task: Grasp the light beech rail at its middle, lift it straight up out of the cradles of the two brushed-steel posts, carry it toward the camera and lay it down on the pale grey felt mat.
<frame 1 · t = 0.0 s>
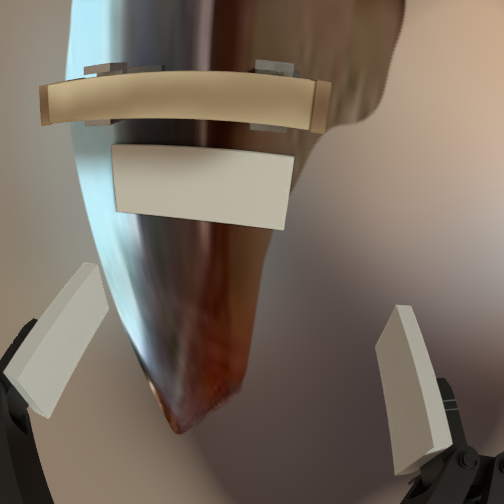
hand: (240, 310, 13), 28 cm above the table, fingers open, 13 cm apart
rail: (184, 89, 25), point 9 cm above the table, touching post, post
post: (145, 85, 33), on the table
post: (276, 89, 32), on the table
mat: (196, 183, 40), on the table
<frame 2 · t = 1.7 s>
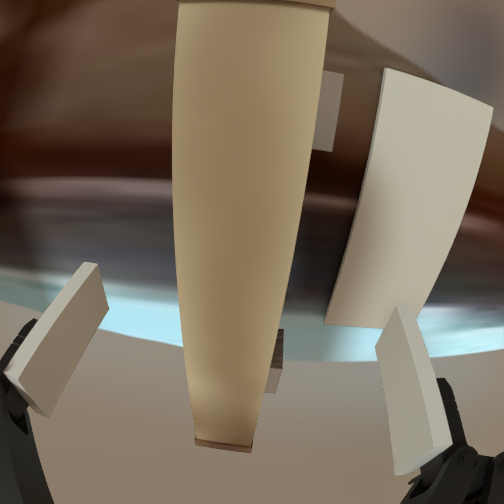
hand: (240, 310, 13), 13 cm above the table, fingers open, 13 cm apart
rail: (245, 252, 17), point 9 cm above the table, touching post, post
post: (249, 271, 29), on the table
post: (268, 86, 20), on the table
mat: (408, 223, 24), on the table
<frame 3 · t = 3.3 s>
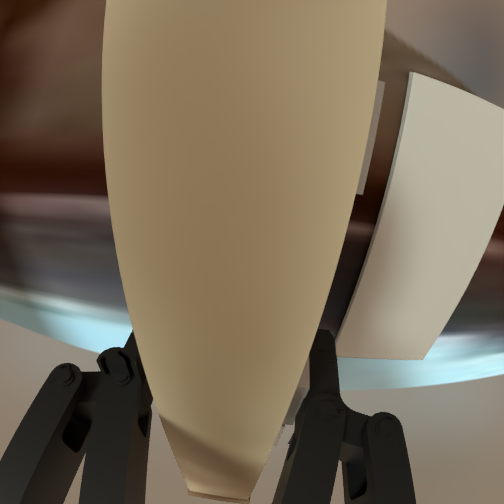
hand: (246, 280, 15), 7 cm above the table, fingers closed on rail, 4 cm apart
rail: (242, 304, 13), point 9 cm above the table, touching gripper, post, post
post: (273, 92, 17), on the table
mat: (429, 250, 21), on the table
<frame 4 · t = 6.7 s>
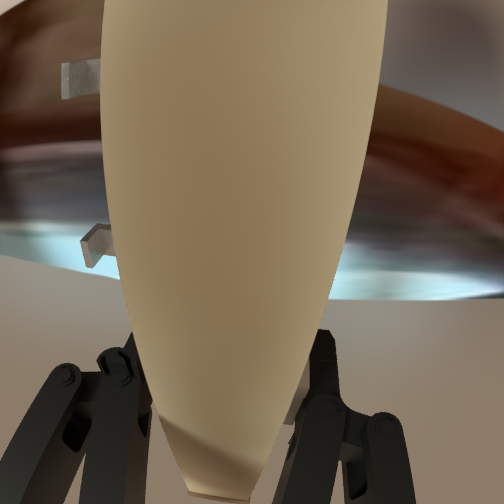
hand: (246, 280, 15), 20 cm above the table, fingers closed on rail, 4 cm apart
rail: (241, 305, 13), point 22 cm above the table, touching gripper
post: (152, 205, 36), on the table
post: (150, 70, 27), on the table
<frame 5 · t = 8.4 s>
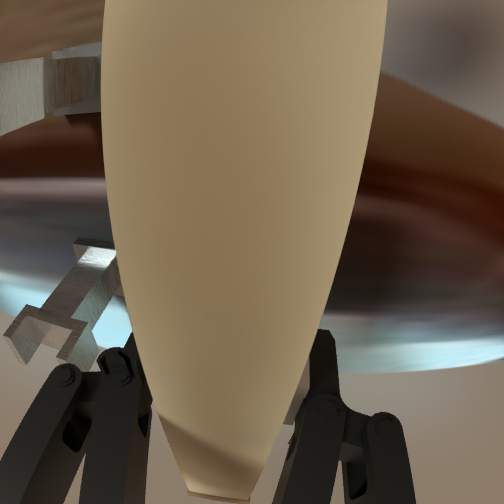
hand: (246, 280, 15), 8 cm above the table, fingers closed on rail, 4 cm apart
rail: (241, 305, 13), point 10 cm above the table, touching gripper
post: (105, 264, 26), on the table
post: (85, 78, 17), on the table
when the fingers open (1 cm above the table, at t = 10.0 s): rail drops 2 cm, resting on mat.
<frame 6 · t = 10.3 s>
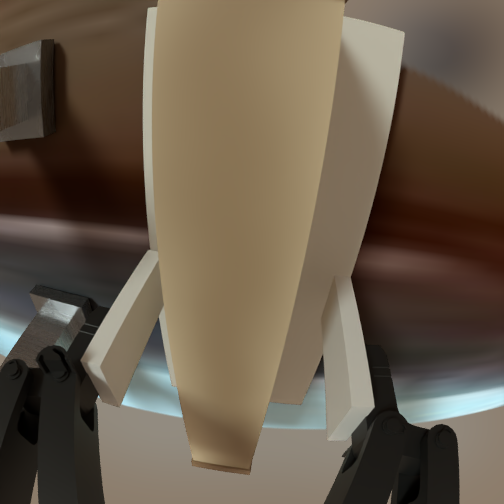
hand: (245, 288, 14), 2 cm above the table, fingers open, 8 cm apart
rail: (244, 272, 15), point 1 cm above the table, touching mat
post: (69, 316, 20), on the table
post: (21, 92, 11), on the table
mat: (249, 265, 16), on the table
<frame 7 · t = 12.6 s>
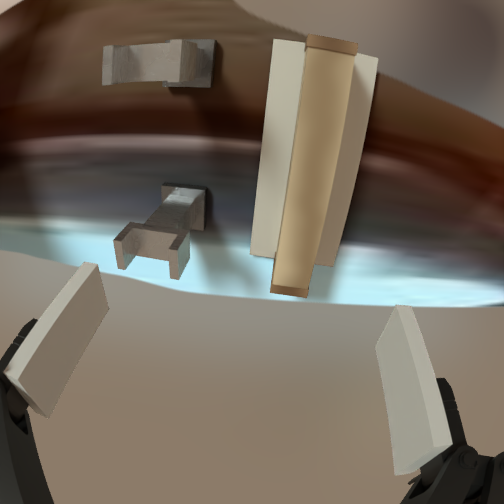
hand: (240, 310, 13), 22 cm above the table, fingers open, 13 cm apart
rail: (308, 162, 30), point 1 cm above the table, touching mat
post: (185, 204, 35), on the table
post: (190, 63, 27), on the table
mat: (309, 160, 31), on the table
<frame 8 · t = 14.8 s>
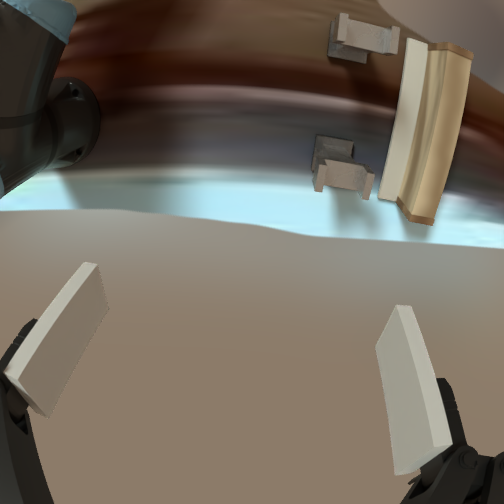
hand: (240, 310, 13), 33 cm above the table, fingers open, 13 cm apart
rail: (426, 127, 36), point 1 cm above the table, touching mat
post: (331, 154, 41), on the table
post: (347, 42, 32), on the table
mat: (426, 126, 36), on the table
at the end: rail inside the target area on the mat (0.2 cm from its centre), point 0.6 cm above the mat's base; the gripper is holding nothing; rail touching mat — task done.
